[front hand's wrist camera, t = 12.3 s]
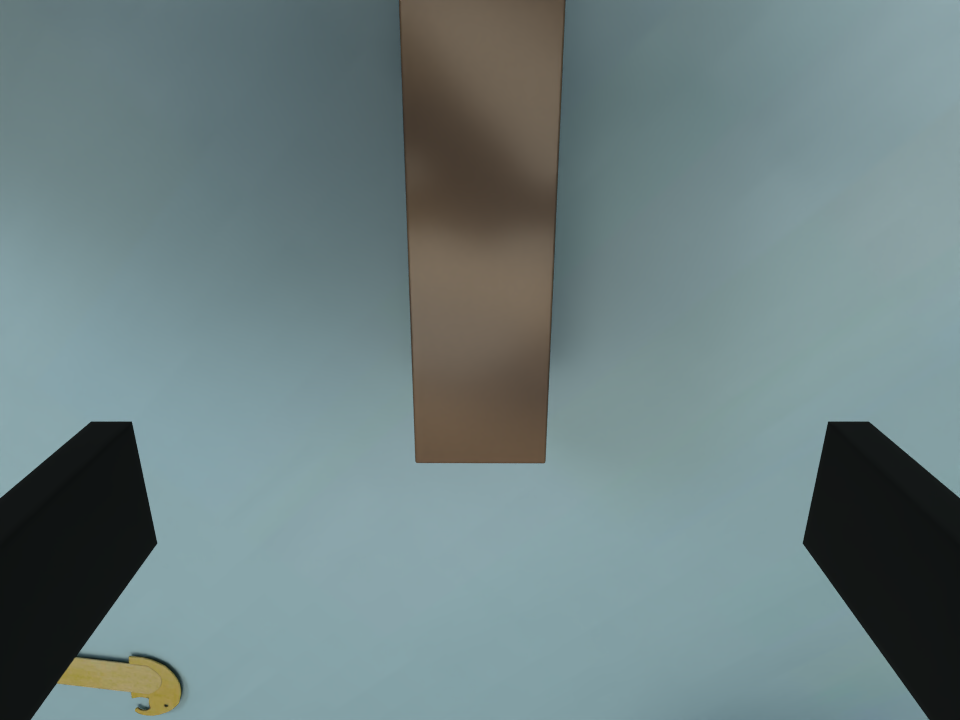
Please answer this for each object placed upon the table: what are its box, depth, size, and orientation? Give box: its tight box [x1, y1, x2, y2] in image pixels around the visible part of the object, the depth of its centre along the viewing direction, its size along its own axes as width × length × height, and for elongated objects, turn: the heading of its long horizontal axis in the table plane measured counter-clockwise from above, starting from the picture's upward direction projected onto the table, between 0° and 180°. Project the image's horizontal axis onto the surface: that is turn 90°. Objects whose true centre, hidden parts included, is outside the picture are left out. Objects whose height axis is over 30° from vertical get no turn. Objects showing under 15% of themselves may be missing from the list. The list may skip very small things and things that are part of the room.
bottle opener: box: [57, 656, 181, 716], centre depth 41 cm, size 5×1×20 cm
